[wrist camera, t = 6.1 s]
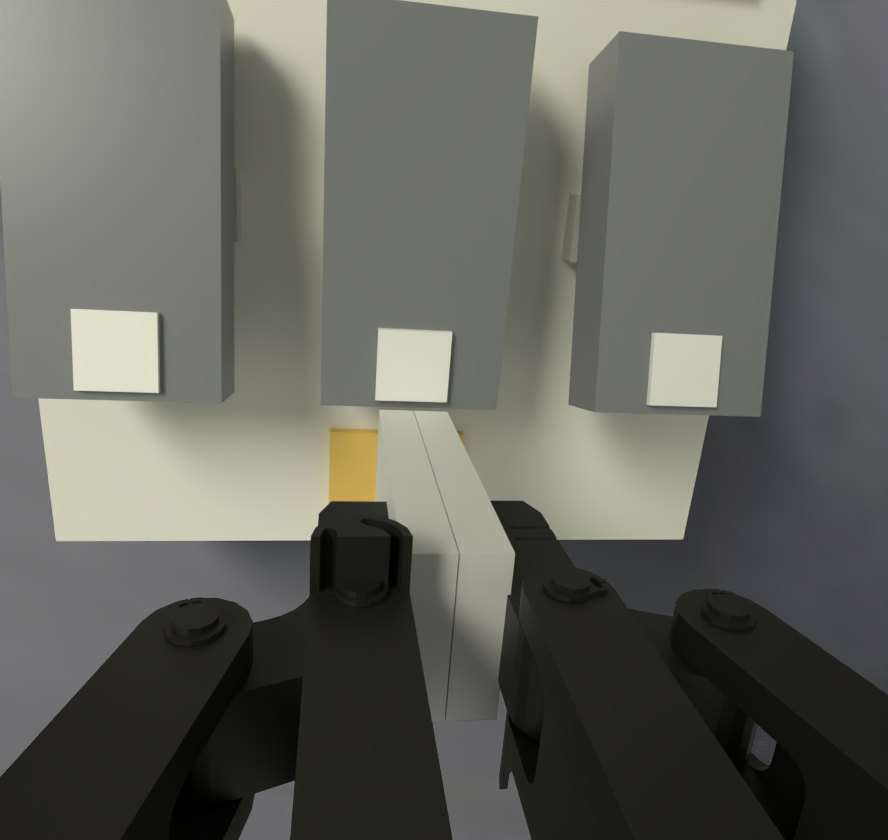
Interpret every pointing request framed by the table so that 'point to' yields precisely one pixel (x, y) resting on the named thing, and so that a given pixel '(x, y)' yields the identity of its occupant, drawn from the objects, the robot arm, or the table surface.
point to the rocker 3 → (678, 226)
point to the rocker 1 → (118, 198)
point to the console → (300, 322)
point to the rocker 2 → (420, 200)
